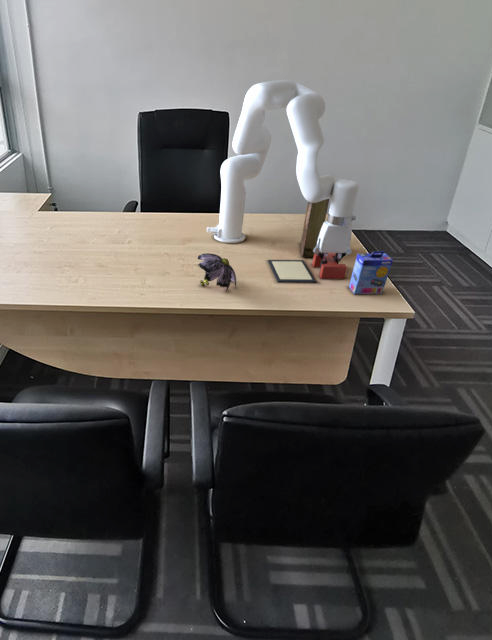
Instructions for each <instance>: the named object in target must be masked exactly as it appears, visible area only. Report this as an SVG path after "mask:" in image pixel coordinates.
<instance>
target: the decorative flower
mask: <svg viewBox="0 0 492 640" xmlns="http://www.w3.org/2000/svg"><path fill="white" fill-rule="evenodd" d="M197 260H201V262H199V263H198V264H197V266H198V267H199V269H201V270H203V271H204V273H205V274H204V276H203V280H202V279H201V280H199V283H200V286H202V287H204V286H205V285H206V286H209V285H210V282H213V281H214V280H216V279H217V280H216V286H219V288H226V289H225V292H228V290H229V289H230V286H231V282H232V283H233V282H234V288H236V287H237V276H236V272H235V270H234V268H233V267H232V266H231V264H230V261H229V260H228V258H225V257H223V258H222V257H221V256H220V255H218V254H215V253H209V252H208V253H201V254H199V255H198V256H197Z"/></svg>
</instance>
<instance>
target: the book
mask: <svg viewBox="0 0 492 640" xmlns="http://www.w3.org/2000/svg"><path fill="white" fill-rule="evenodd" d="M329 203H330V199H325V200H323V201H320V202H317V203H311V202H308V201H307V205H306V212H305V216H304V223H303V228H302V233H301V239H300V249H301V250H300V252H301V253H300V254H301V258H313V257H314V252H313V249H314V248H315V247H316V246H317V241H318V237H319V234H320V231H321V228H322V226H323V223H324V221H326V220H327V215H328V214H327V213H328V210H329V209H328V208H329V205H330V204H329Z"/></svg>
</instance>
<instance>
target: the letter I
mask: <svg viewBox="0 0 492 640" xmlns="http://www.w3.org/2000/svg"><path fill="white" fill-rule="evenodd" d="M334 258H335V253H328V255H327V259H326V261H327V264H322V265H321V268H320V264H321V258H320V257H319V256H318V255H316V254H315V253H314V257H312V263H311V265H312V267H313V268H320V271H319V275H318V276H319V278H320V280H345V277H346V273H347V269H348V266H347V265H346V264H345V263H339V264H337V263H336V261H335V260H334Z"/></svg>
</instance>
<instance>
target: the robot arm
mask: <svg viewBox="0 0 492 640" xmlns="http://www.w3.org/2000/svg"><path fill="white" fill-rule="evenodd" d="M278 109H280V110H281V109H286V115H287V118H288V123H289V125H290V128H291V131H292V135H293V138H294V142H295V144H296V148H297V156H296V167H295V173H296V174H295V175H296V180H297V183H298V186H299V189H300V192H301V194H302V196H303V198H304V199H305V200H306V201H307V203H308V202H311V203H317V202H320V201H323V200H325V199H329V200H330V202H329V203H330V204H329V207H328V208H329V209H328V212H327V213H328V214H327V217H326V220H325V221H324V223H323V226H322V228H321V231H320V234H319V237H318V241H317V246H316V247H315V248H314V249H313V252H314V253H315V254H316V255H318V256H319V257H320V258H321V264H320V267H319V268H320V269H321V265H322V264H327V261H326V259H327V255H328V253H335V258H334V260H335V261H336V263H337V264H340V262H341V260H342V259H344V258H345V257H347V256H348V255H350V254H352V249H351V241H352V235H353V233H352V232H353V224H352V222H353V221H356V219H357V218H356V215H353V213H354V209H355V206H356V201H357V197H358V192H359V187H360V186H359V183H357V181H354V180H350V179H344V178H341V177H338V176H336V175H334V174H325V175H322V176H319V172H318V167H317V158H318V155H319V152H320V150H321V148H322V147H323V145H324V143H325V138H324V133H323V131H322V128H321V124H320V121H319V120H320V119H321V118H322V117H323V115H324V114H325V111H326V102H325V99H324V98H323V97H322V95H321V94H319V93H318V92H317V91H314V90H312V89H311V88H309V87H307V86H306V85H305V86H304V85H303V84H302V83H299V82H298V81H295V80H291V79H282V80H281V79H280V80H270V81H263V82H258V83H256V84H255V83H254V84H253V85H252V86H251V87H250V88H249V89H248V90H247V91H246V94H245V96H244V99H243V103H242V109H241V112H240V116H239V119H238V122H237V124H236V128H235V131H234V135H233V138H232V143H231V144H232V145H231V146H232V150H233V152H234V153H235V154H236V155H234V156H231V157H228V158H227V159H225V160H224V161H223V162H222V164H221V166H220V172H219V173H220V184H221V185H220V186H221V189H220V190H221V191H220V205H219V206H220V207H219V217H218V218H219V219H218V224H216V226H214V227H211V226H210V227H206V232H207V233H209V234H211V235H213V238H214V240H216V241H218V242H221V243H225V244H226V243H227V244H238V243H241V242H244V240H245V239H246V234H245V233H243V225H244V218H245V217H244V215H245V208H246V207H245V206H246V198H247V197H246V196H247V195H246V194H247V192H246V187H245V181H248V180H252V179H254V178H256V177H257V176H258V175H259V174H260V173H261V171H262V169H263V166H264V164H265V161H266V158H267V155H268V153H269V150H270V147H271V142H272V135H271V134H272V133H271V131H270V129H269V127H267V126H266V125H265V124H264V122H265V118H266V111H269V110H271V111H273V110H278Z"/></svg>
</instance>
